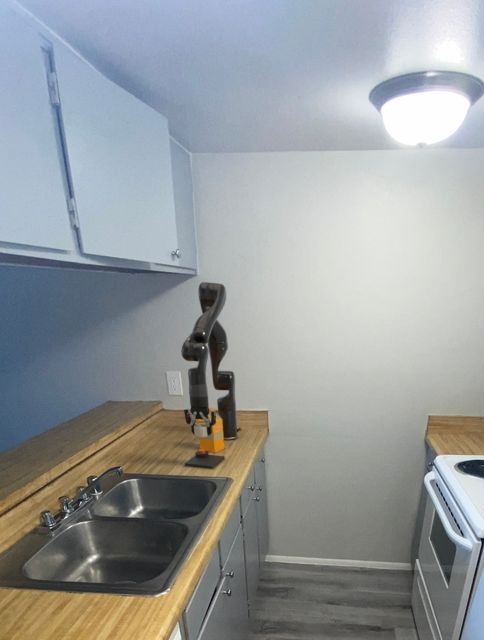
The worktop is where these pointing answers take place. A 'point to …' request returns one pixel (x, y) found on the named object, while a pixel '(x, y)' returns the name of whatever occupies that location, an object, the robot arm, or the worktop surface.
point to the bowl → (200, 430)
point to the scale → (204, 460)
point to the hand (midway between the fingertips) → (201, 434)
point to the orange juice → (213, 435)
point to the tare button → (201, 451)
